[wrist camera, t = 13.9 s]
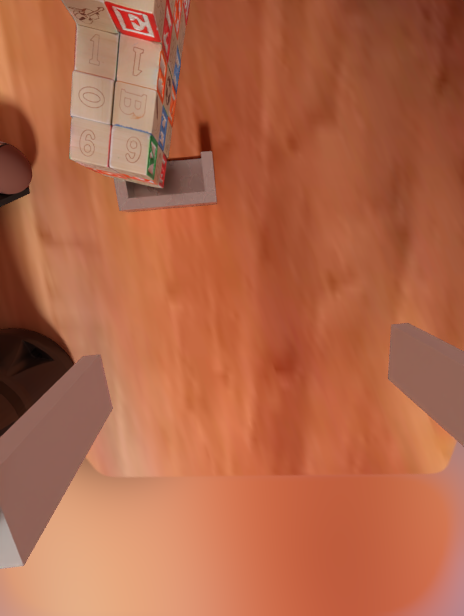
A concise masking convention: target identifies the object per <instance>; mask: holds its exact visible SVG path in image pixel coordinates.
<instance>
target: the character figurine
mask: <svg viewBox="0 0 464 616" xmlns="http://www.w3.org/2000/svg"><path fill="white" fill-rule="evenodd" d="M31 179H32V170H31V166H30V164H29V162H28V160H27V158H26V157H25V156H24V155H23V153H22V152H20V151H19V150H18V149H17V148H15V147H14V146H12V145H10V144H7V143H5V142H1V141H0V207H1V206H3V205H5V204H7V203H10V202H12V201H14V200H16V199H18V198H21V197H23V196H25V195H27V194H29V193H30V192H29V188H27V187H28V185H29V184H30V182H31Z"/></svg>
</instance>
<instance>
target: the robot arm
mask: <svg viewBox="0 0 464 616" xmlns="http://www.w3.org/2000/svg"><path fill="white" fill-rule="evenodd" d="M388 379H389V380H390V381H391V382H392V383H393V384H394V385H395V386H397V387H398V388H399V389H400V390H401V391H402V392H403V393H404V394H405V395H407V396H408V397H409V398H410V399H411V400H412V401H413V402H414V403H416V404H417V405H418V406H419V407H420V408H421V409H422V410H423V411H425V412H426V413H427V414H428V415H429V416H430V417H431V418H432V419H433V420H435V421H436V422H437V423H438V424H439V425H440V426H441V427H442V428H444V429H445V430H446V431H447V432H448V433H449V434H450V435H451V436H453V437H454V438H455V439H456V440H457V441H458V442H459V443H461V444H462V445H463V446H464V351H462V350H460V349H458V348H456V347H454V346H452V345H450V344H448V343H446V342H444V341H442V340H440V339H438V338H436V337H435V336H433V335H431V334H429V333H427V332H425V331H423V330H421V329H419V328H417V327H415V326H413V325H411V324H409V323H403V324H393V325H391V339H390V355H389V370H388ZM112 409H113V407H112V403H111V399H110V394H109V390H108V386H107V381H106V377H105V373H104V368H103V364H102V359H101V355H90V356H83V357H82V358H81V359H80V360H79V361H78V362H77V363H75V364H74V365H73V363H72V361H71V359H70V358H69V356H68V355H67V354H66V352H65V351H64V350H63V349H62V348H61V347H60V346H59V345H57V344H56V343H55V342H54V341H52V340H51V339H49V338H47V337H45V336H43V335H41V334H39V333H36V332H33V331H30V330H25V329H17V328H9V329H1V330H0V569H2V568H11V567H19V566H24V565H25V563H26V561H27V559H28V557H29V556H30V554H31V552H32V550H33V548H34V547H35V545H36V543H37V541H38V540H39V538H40V536H41V534H42V533H43V531H44V529H45V527H46V526H47V524H48V522H49V520H50V518H51V517H52V515H53V513H54V511H55V510H56V508H57V506H58V504H59V503H60V501H61V499H62V497H63V495H64V494H65V492H66V490H67V488H68V486H69V485H70V483H71V481H72V479H73V478H74V476H75V474H76V472H77V471H78V469H79V467H80V465H81V464H82V462H83V460H84V458H85V457H86V455H87V453H88V451H89V449H90V448H91V446H92V444H93V442H94V441H95V439H96V437H97V435H98V434H99V432H100V430H101V428H102V426H103V425H104V423H105V421H106V419H107V418H108V416H109V414H110V412H111V411H112Z"/></svg>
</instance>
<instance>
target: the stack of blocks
mask: <svg viewBox="0 0 464 616" xmlns="http://www.w3.org/2000/svg"><path fill="white" fill-rule="evenodd" d="M62 2H63V3H64V5H65V6H66V8H67V9H68V11H69V13H70V14H71V16H72V17H73V19H74V20H75V22H76V39H75V58H74V71H73V73H72V91H71V111H70V115H71V117H72V120H71V136H70V153H69V158H70V159H71V160H73V161H75V162H77V163H79V164H81V165H83V166H85V167H86V168H88V169H91V170H93V171H95V172H98V173H100V174H103V175H105V176H107V177H111V178H116V179H120V180H125V181H130V182H134V183H138V184H142V185H147V186H151V187H157V188H164V180H165V172H166V164H167V158H168V155H169V148H170V141H171V134H172V127H173V120H174V113H175V106H176V99H177V97H176V93H177V86H178V79H179V72H180V65H181V56H182V49H183V42H184V35H185V27H186V25H187V19H188V13H189V6H190V0H62Z"/></svg>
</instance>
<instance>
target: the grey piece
mask: <svg viewBox="0 0 464 616" xmlns="http://www.w3.org/2000/svg"><path fill="white" fill-rule="evenodd" d="M114 183H115V188H116V194H117V199H118V204H119V210H120V211H125V212H134V211H145V210H156V209H167V208H179V207H190V206H201V205H212V204H217V199H216V189H215V179H214V168H213V158H212V151H206V152H201V159H190V160H178V161H167V164H166V172H165V180H164V188H157V187H151V186H147V185H142V184H138V183H134V182H130V181H125V180H120V179H116V178H114Z"/></svg>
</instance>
